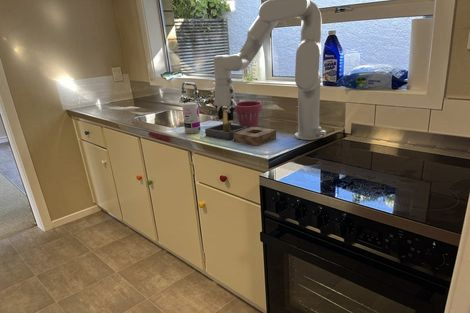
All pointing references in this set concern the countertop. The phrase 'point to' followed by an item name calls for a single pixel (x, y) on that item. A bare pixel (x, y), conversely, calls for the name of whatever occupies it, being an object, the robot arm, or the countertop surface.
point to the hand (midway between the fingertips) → (225, 119)
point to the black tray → (219, 133)
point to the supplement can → (191, 117)
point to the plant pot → (248, 113)
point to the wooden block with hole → (254, 135)
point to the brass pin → (226, 122)
